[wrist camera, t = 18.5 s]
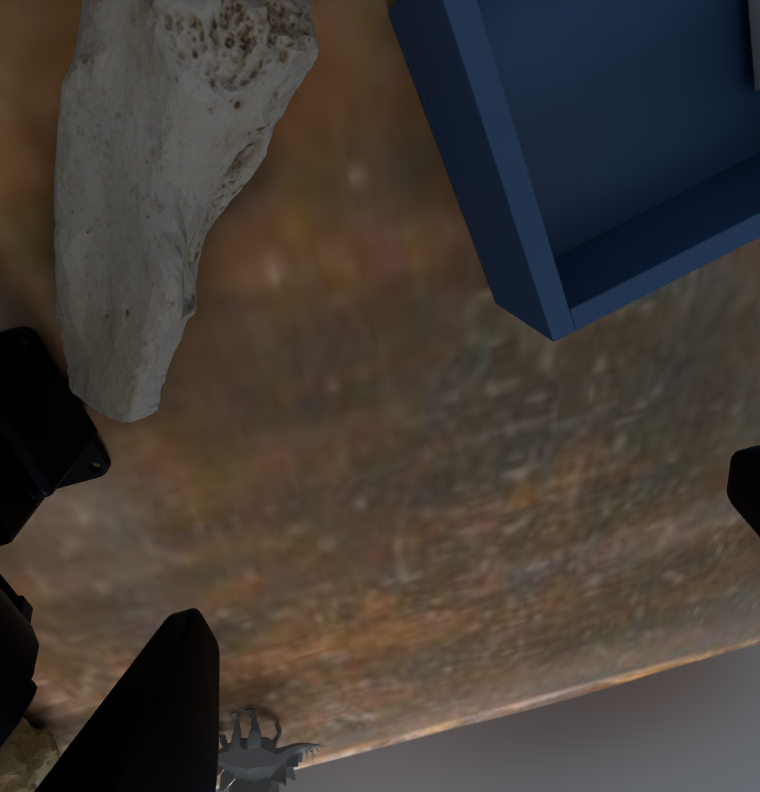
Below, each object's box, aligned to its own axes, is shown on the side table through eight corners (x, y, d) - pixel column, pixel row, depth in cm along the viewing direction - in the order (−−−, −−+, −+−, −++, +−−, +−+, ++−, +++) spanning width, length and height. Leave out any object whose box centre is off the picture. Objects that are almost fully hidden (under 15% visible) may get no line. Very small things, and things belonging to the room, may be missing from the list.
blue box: (495, 303, 20) (553, 342, 16) (387, 13, 15) (425, -52, 11) (803, 145, 19) (957, 137, 15) (789, -213, 14) (1009, -384, 10)
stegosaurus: (322, 721, 30) (327, 811, 26) (205, 740, 29) (189, 837, 25) (320, 695, 29) (324, 785, 25) (198, 714, 28) (181, 811, 24)
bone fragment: (113, -100, 13) (34, -220, 9) (327, 36, 15) (340, -10, 11) (15, 333, 18) (-69, 386, 13) (191, 393, 20) (166, 454, 16)
